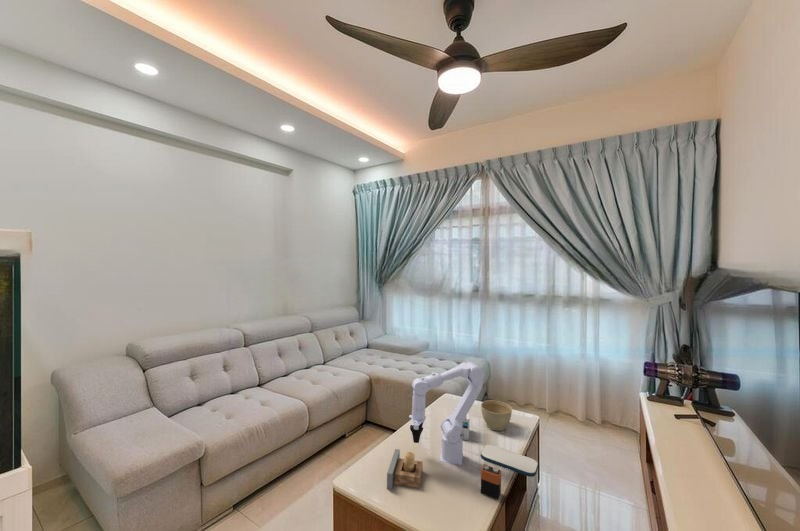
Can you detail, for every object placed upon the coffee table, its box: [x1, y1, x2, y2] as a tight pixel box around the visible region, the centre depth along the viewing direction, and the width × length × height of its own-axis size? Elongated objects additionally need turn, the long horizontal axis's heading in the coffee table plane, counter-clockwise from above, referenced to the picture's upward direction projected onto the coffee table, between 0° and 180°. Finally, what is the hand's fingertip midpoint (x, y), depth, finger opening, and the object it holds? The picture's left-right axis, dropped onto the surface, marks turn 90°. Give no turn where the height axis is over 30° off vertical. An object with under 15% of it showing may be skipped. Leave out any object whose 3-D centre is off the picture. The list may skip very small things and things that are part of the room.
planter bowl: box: [480, 400, 513, 432], centre depth 169 cm, size 16×16×11 cm
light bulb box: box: [460, 411, 471, 441], centre depth 161 cm, size 11×7×11 cm, turn 168°
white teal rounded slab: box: [480, 444, 539, 478], centre depth 140 cm, size 24×12×2 cm, turn 58°
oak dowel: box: [403, 451, 416, 473], centre depth 126 cm, size 4×4×8 cm
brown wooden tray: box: [393, 457, 424, 489], centre depth 126 cm, size 10×10×4 cm
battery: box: [480, 464, 502, 500], centre depth 120 cm, size 4×7×10 cm, turn 61°
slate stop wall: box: [386, 448, 401, 490], centre depth 128 cm, size 2×16×6 cm, turn 170°
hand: (417, 437), depth 138 cm, fingers open, 7 cm apart
